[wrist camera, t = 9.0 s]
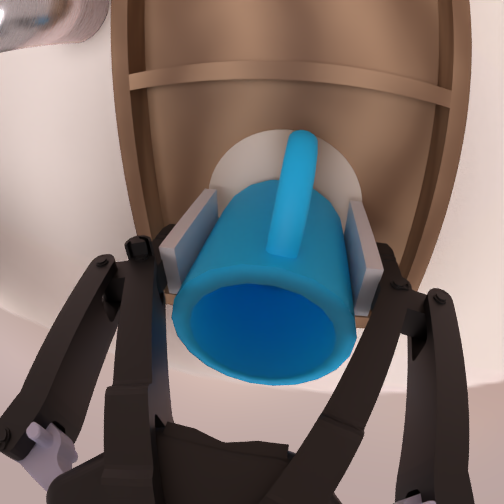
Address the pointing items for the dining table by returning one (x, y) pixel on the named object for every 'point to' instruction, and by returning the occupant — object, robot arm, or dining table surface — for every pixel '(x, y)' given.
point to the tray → (295, 107)
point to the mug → (272, 282)
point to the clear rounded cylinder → (49, 22)
